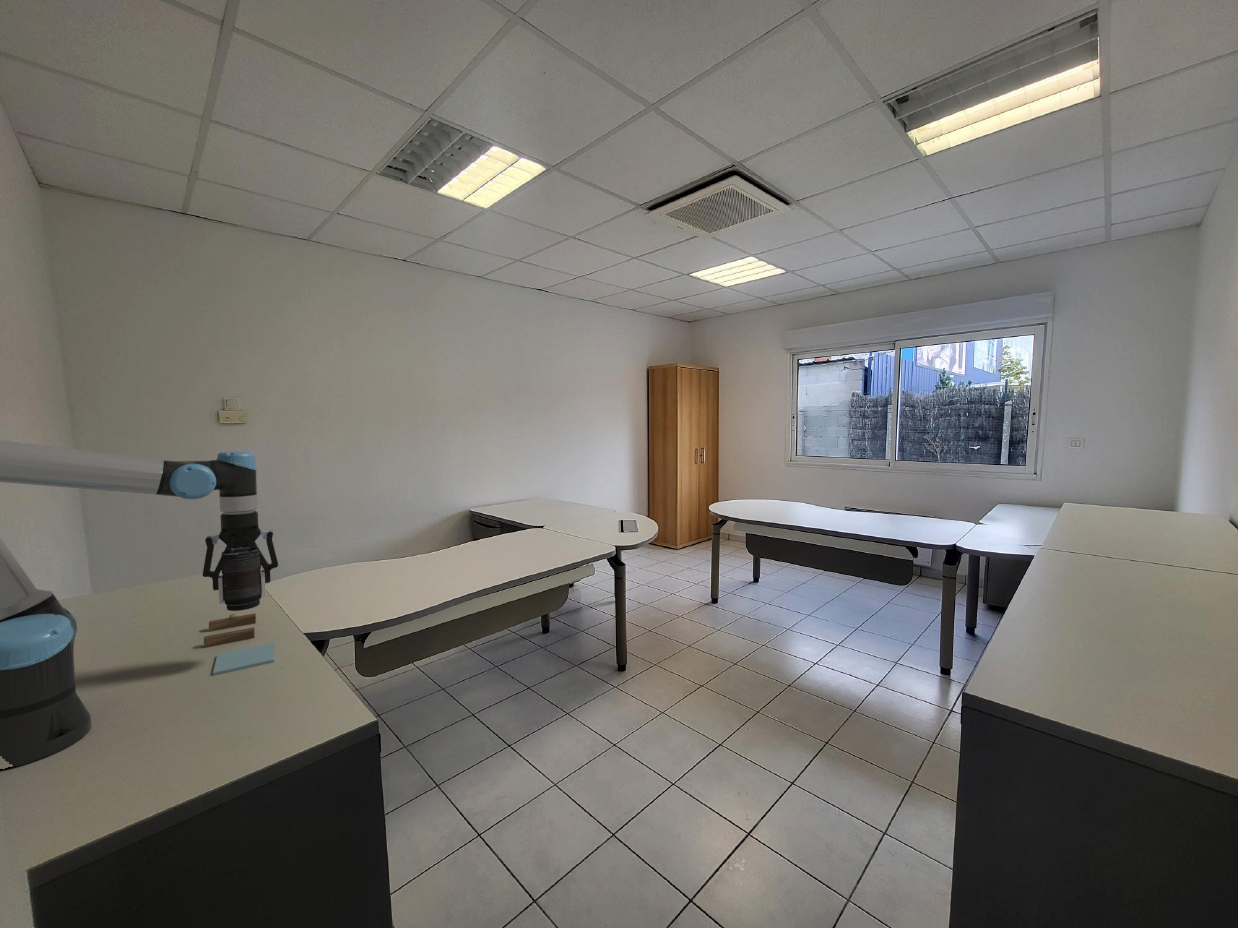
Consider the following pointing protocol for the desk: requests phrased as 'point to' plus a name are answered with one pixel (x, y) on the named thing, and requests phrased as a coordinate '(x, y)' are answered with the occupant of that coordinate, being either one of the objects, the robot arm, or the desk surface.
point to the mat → (244, 658)
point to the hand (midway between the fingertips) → (243, 598)
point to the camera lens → (241, 579)
